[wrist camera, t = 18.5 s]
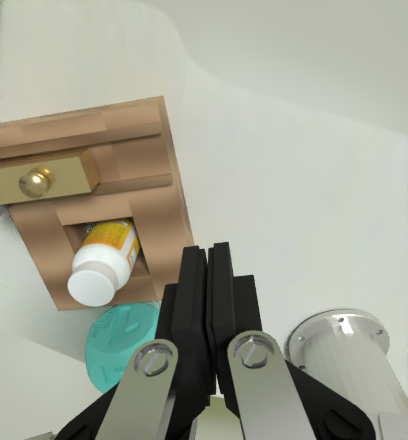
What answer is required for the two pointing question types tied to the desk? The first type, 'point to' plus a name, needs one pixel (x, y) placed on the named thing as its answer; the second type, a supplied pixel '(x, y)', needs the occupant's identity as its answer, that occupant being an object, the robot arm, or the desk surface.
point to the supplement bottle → (104, 261)
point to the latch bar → (47, 176)
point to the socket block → (105, 194)
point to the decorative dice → (118, 341)
